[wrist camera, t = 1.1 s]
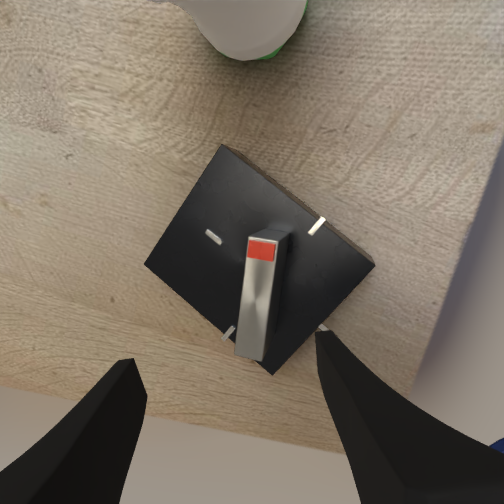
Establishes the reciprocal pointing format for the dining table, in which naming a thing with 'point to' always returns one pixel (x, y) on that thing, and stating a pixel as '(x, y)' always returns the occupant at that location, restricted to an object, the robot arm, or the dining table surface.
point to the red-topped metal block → (261, 292)
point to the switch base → (235, 247)
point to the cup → (245, 24)
